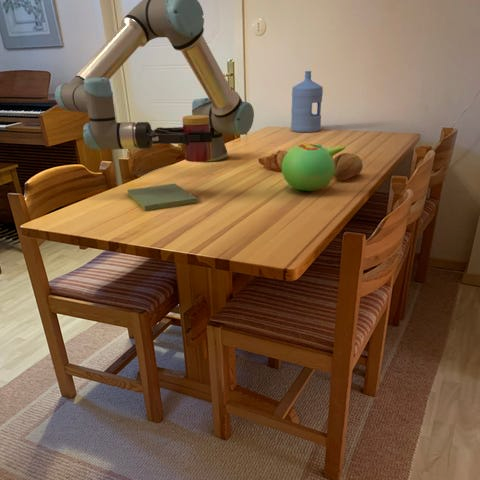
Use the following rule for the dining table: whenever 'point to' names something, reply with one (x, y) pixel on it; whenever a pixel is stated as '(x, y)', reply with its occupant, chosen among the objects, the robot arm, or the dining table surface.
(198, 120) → the jam lid
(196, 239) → the dining table surface
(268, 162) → the croissant
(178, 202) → the corner board
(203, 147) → the jam jar
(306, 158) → the toy bird
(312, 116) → the water jug
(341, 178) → the bread roll
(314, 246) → the dining table surface
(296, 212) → the dining table surface
